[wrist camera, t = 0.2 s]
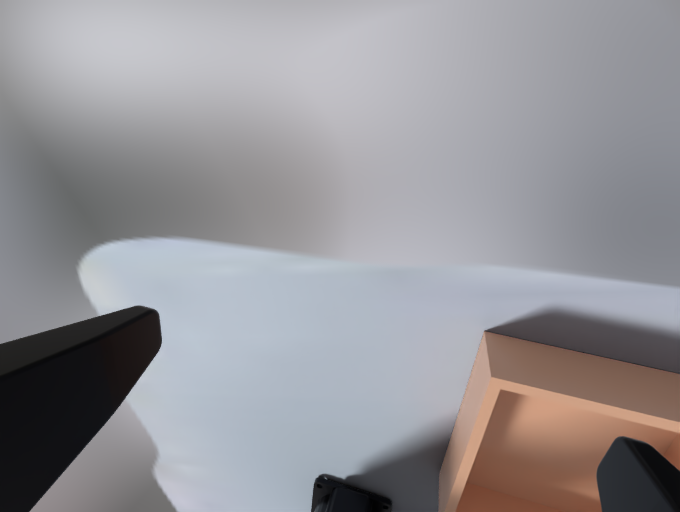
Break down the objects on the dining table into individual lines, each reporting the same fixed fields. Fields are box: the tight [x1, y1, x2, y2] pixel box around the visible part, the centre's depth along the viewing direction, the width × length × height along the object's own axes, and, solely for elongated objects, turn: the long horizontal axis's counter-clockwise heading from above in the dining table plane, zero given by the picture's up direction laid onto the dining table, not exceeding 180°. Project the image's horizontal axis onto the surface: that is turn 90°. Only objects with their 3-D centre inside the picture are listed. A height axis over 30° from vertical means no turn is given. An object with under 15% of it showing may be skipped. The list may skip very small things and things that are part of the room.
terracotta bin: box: [438, 331, 680, 512], centre depth 22 cm, size 13×12×4 cm
